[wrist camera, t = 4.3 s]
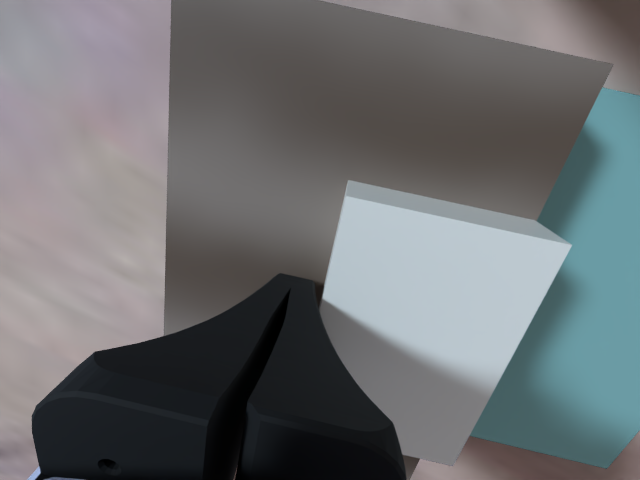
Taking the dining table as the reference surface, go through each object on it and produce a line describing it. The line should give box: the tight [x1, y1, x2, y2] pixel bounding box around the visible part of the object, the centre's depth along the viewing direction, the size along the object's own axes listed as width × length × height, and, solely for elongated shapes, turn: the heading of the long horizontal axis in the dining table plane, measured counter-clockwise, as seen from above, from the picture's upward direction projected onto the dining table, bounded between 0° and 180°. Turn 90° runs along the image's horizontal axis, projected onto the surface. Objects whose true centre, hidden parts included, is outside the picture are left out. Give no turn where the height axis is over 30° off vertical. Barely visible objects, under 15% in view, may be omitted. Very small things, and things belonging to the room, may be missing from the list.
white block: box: [319, 180, 572, 466], centre depth 11 cm, size 9×6×2 cm, turn 169°
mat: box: [470, 88, 640, 469], centre depth 16 cm, size 18×12×1 cm, turn 168°
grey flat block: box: [164, 0, 613, 480], centre depth 14 cm, size 18×12×4 cm, turn 168°
